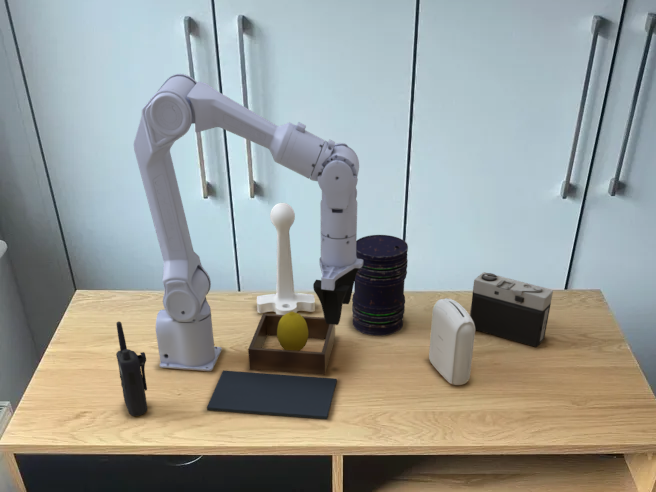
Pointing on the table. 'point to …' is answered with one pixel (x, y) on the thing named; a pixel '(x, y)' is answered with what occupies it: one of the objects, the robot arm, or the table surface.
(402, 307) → the dark navy cylinder
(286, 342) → the lemon
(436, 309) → the photo printer
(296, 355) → the wooden frame
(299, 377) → the mat
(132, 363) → the two-way radio
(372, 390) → the table surface
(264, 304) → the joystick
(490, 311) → the camera
